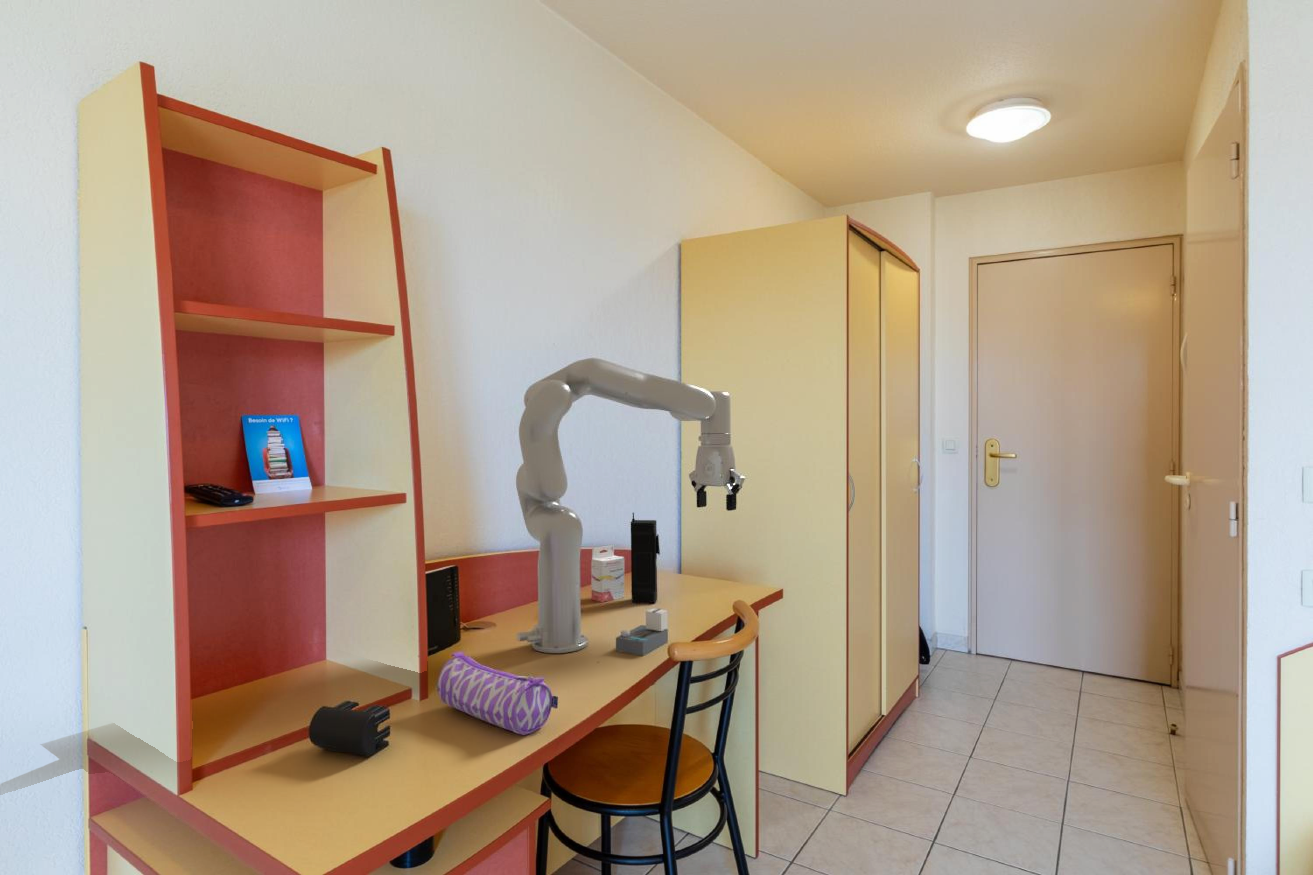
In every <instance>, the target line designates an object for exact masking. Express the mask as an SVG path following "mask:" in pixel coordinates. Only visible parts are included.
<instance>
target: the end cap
mask: <svg viewBox="0 0 1313 875" xmlns="http://www.w3.org/2000/svg"><path fill="white" fill-rule="evenodd" d="M359 706H360V703H359V702H357V701H350V700H345V701H342V702H341V703H339V704H336V705H335V706H333V707H332V706H325V705H323V706H321V707H320V708H318V710H317V711H315V713H314V714H313V716H312V718H311V719H310V720H311V721H310V723H309V726H308V737H309V741H310V742H311V744H313V745H314V746H316V747H318V748H320V749H323V750H327V751H333V752H339V753H346V754H352V755H357V756H363V757H367V758H368V757H371V758H372V757H373V756H375V755H377V754H379V753H380V752H381V751H383V750H384V749H386V748H387V747H389V745H390V742H389V740H386V739H387V738H388V737H390V736H391V725H387V726H385V727H383V728H382V729H380V730H378V728H379V726H380V725H381V724H383V723H384V722H386V721H388V720H389V719H390V718H391V712H390V711H391V710H390V708H389V707H388V706H386V705H378V704H373V705H371V706H369V707H367V708H365V709H361V710H354V709H355V708H357V707H359Z"/></svg>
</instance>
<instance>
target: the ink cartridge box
mask: <svg viewBox="0 0 1313 875" xmlns="http://www.w3.org/2000/svg"><path fill="white" fill-rule="evenodd" d="M603 550H604V551H605V552H602V551H603ZM590 567H591V572H590V573H591V576H590V577H591V579H590V580H591V600H593V601H596V602H599V603H606V602H610V601H614V600H619V598H620V599H623V598H622V597H624V598H625V556H619V555H615V545H613V544H612V545H606V546H598V547H593V548H592V551H591V566H590ZM605 601H606V602H605Z"/></svg>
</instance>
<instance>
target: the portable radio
mask: <svg viewBox="0 0 1313 875" xmlns="http://www.w3.org/2000/svg"><path fill="white" fill-rule="evenodd" d="M657 531H658V530H657V520H656V519H644V520H643V519H635V512H632V518H631V521H630V571H631V577H630V579H631V581H630V582H631V589H630V590H631V591H630V592H631V603H632V604H639V605H640V604H642V605H643V604H646V605H653V604H655V603H657V600H658V556H660V554H661V552H660V538H659V537H660V536H659V534H658V533H657ZM657 555H658V556H657Z"/></svg>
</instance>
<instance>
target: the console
mask: <svg viewBox="0 0 1313 875" xmlns="http://www.w3.org/2000/svg"><path fill="white" fill-rule="evenodd" d="M668 632H669V631H668V628H666V629H664V630H663V631H657V630H651V629H646V624H644V625H643V624H641V625H639V626H638V625H637V627H634V628H633V629H632V628H631V630H628V629H626V630H625V629H624V630H621V631H620V635H618V636H616V637H615V652H618V651H619V652H620V653H625V654H629V653H631V654H630V655H635V654H636V656H640V655H641V657H644V656H646V655H647V653H648V654H650V653H652V652H653V651H654V650H657V649H659V648H660V647H661V646H663V645H665V644H667V643H668V641H669V640H668V638H669V634H668Z"/></svg>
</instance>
